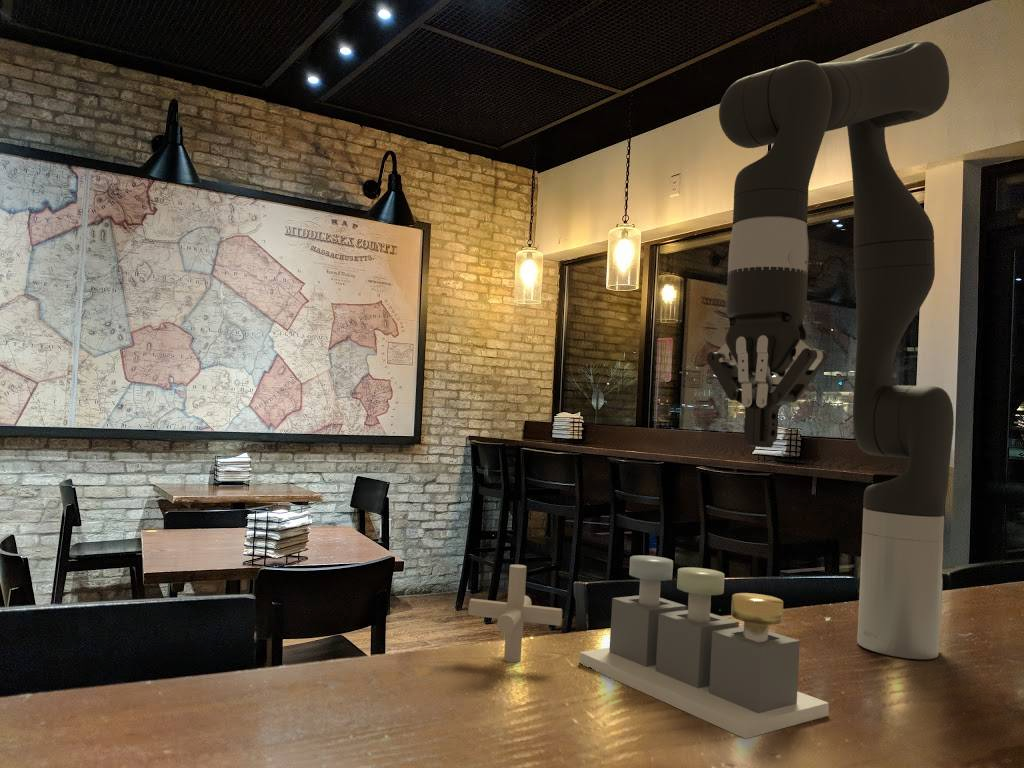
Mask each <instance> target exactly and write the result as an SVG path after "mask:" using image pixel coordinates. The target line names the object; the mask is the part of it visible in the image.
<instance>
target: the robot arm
mask: <svg viewBox="0 0 1024 768" xmlns="http://www.w3.org/2000/svg"><path fill="white" fill-rule="evenodd" d="M947 61H948V60H947V59H946V56H945V53H944V52H943V50H942V49H941V48H940V47H939V46H938V45H937V44H935V43H934V42H931V41H928V40H919V41H912V42H908V43H904V44H901V45H897V46H894V47H891V48H888V49H884V50H882V51H877V52H874V53H871V54H867V55H866V56H865V55H864V56H862V57H859V58H857V59H855V60H847V61H837V62H824V63H816V62H814V61H812V60H807V59H803V60H795V61H792V62H789V63H785V64H783V65H780V66H776V67H773V68H770V69H769V68H768V69H767V70H764V71H759V72H757V73H753V74H751V75H747V76H744V77H742V78H739V79H738V80H736V81H735V82H732V84H730V86H729V87H728V88H727V89H726V91H725V93H724V94H723V96H722V98H721V101H720V103H719V107H718V119H719V121H718V122H719V125H720V127H721V130H722V131H723V134H724V135H725V136H726V137H727V138H728V140H729V141H731V142H732V143H733V144H735V145H736V146H738V147H741V148H745V149H756V148H760V147H764V146H768V145H772V146H771V148H770V150H769V151H768V152H767V153H766V154H765V155H764V156H762V157H761V158H759V159H757V160H756V161H754V162H751V163H749V164H748V165H746V166H744V167H743V168H742V169H741V170H739V172H738V173H737V175H736V178H735V179H734V180H735V181H734V187H733V188H734V189H733V209H732V212H733V214H732V228H731V237H730V241H729V248H728V264H727V285H726V286H727V289H726V307H725V313H726V315H727V318H728V320H729V327H728V330H727V332H726V334H725V338H724V341H725V343H724V344H723V345H722V346H721V347H720V348H719V349H718V350H717V351H716V352H715V351H714V352H713V351H709V352H708V354H707V355H706V362H707V363H708V364H709V368H711V370H712V372H713V373H714V375H715V377H716V379H717V380H718V383H719V384H720V386H721V387H722V389H723V391H724V393H725V394H726V396H727V398H728V400H729V401H733V402H737V403H740V404H741V405H742V406H743V407H744V429H743V431H744V433H743V436H744V440H746V443H747V446H748V447H755V448H772V447H773V446H774V442H775V443H776V441H777V439H778V433H779V432H778V431H779V430H778V429H779V427H778V425H779V411H780V409H781V407H782V406H784V405H788V404H790V403H796V402H797V401H798V400H799V399H800V397H801V396H802V394H803V393H804V392H805V390H806V389H807V388H808V386H809V384H810V383H811V382H812V381H813V379H814V378H815V377H816V376H817V374H818V373H819V372H820V370H821V369H822V367H823V366H824V364H825V363H826V362H827V360H828V357H829V356H828V352H826V351H825V350H823V349H817V348H816V347H815V346H813V345H812V344H811V343H810V342H809V341H808V340H807V339H808V338H807V337H808V336H807V335H808V334H807V331H806V328H805V326H804V322H803V321H804V318H805V316H806V314H807V305H808V303H807V302H808V284H809V283H808V282H809V281H808V277H809V255H810V254H809V253H810V251H809V250H810V247H809V246H810V244H809V235H808V211H809V209H808V208H809V185H810V182H811V177H812V174H813V171H814V168H815V165H816V162H817V158H818V155H819V151H820V148H821V145H822V142H823V138H824V136H825V133H827V132H830V131H835V130H839V129H842V128H845V127H846V128H847V138H848V146H849V154H850V163H851V173H852V174H851V175H852V190H853V191H852V192H853V195H852V196H853V264H854V267H853V268H854V285H855V301H856V303H855V304H856V353H855V365H854V366H855V367H854V369H855V370H854V383H853V385H854V386H853V401H852V403H853V404H852V426H853V433H854V437H855V440H856V443H857V445H858V448H859V449H860V450H861V451H862V452H863V453H866V454H867V455H871V456H879V457H889V458H890V457H891V458H902V459H903V458H904V459H908V463H907V467H906V469H905V470H904V472H902V473H901V474H899V475H898V476H896V477H894V478H892V479H889V480H886V481H882V482H878V483H874V484H871V485H868V486H867V487H866V488H865V490H864V492H863V505H862V506H863V508H862V509H863V510H862V529H861V530H862V534H861V555H860V574H859V575H860V576H859V577H860V578H859V596H858V599H859V600H858V601H859V602H858V616H857V618H858V619H857V637H856V641H857V644H858V645H859V646H860V647H862V648H864V649H867V650H869V651H872V652H876V653H878V654H882V655H886V656H890V657H896V658H902V659H911V660H912V659H913V660H933V659H936V658H938V657H939V653H940V651H941V627H942V602H943V582H944V581H943V580H944V579H943V559H944V557H943V556H944V534H945V533H944V531H945V527H944V526H945V507H946V499H947V494H948V491H949V490H948V489H949V482H950V481H949V480H950V479H949V478H950V465H951V456H952V446H953V438H954V437H953V436H954V422H955V420H954V418H955V417H954V409H953V408H954V407H953V403H952V400H951V397H950V396H949V394H948V392H947V391H946V390H945V389H944V388H942V387H939V386H933V385H932V386H931V385H893V370H894V369H893V367H894V363H895V362H894V361H895V356H896V352H897V349H898V346H899V345H900V341H901V340H902V337H903V336H904V334H905V332H906V330H907V329H908V327H909V325H910V324H911V323H912V321H913V320H914V318H915V317H916V315H917V313H918V312H919V311H920V309H921V307H922V305H923V304H924V302H925V301H926V299H927V297H928V295H929V293H930V291H931V289H932V287H933V284H934V281H935V276H936V275H935V273H936V271H935V270H936V267H935V266H936V263H935V260H936V258H935V230H934V227H933V226H934V225H933V223H932V221H931V218H930V217H929V216H928V214H927V212H926V211H925V209H924V208H923V207H922V205H921V204H920V203H919V201H918V200H917V199H916V197H915V196H914V195H913V193H912V192H911V191H910V190H909V189H908V188H907V186H906V185H905V184H904V182H903V181H902V180H901V178H900V177H899V176H898V174H897V172H896V170H895V168H894V167H893V165H892V163H891V160H890V157H889V154H888V149H887V144H886V135H885V132H886V131H885V130H886V128H889V127H894V126H899V125H903V124H907V123H911V122H915V121H919V120H922V119H926V118H928V117H930V116H932V115H934V114H935V113H936V112H938V111H939V110H940V109H941V108H942V107H943V106H944V104H945V102H946V100H947V98H948V95H949V92H950V91H949V90H950V73H949V65H948V62H947ZM771 374H773V375H771Z"/></svg>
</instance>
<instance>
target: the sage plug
mask: <svg viewBox="0 0 1024 768" xmlns="http://www.w3.org/2000/svg"><path fill="white" fill-rule="evenodd" d="M676 580H677V581H676V583H677V584H676V588H677V589H678V590H679V591H682V592H684V593H688V600H687V601H688V602H687V610H688V617H687V619H689V620H692V621H695V622H698V623H705V622H710V613H711V607H712V606H711V605H712V603H711V602H712V601H711V599H712V596H718V595H719V596H720V595H723V594H724V591H725V590H724V589H725V573H724V572H722V571H719V570H716V569H710V568H703V567H689V566H688V567H680V568H678V569H677V579H676Z"/></svg>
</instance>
